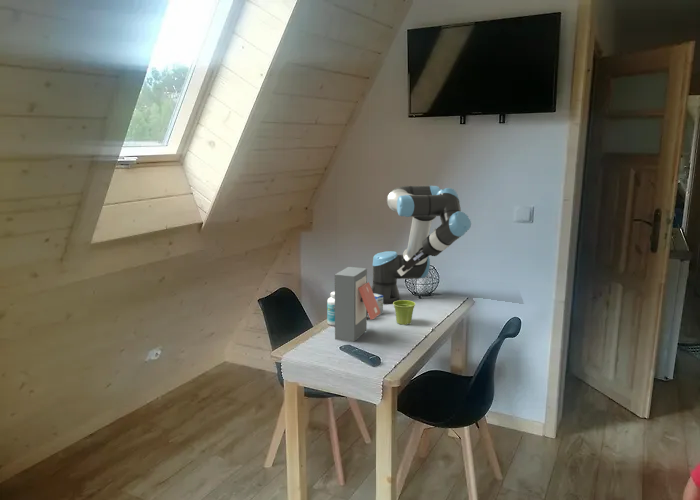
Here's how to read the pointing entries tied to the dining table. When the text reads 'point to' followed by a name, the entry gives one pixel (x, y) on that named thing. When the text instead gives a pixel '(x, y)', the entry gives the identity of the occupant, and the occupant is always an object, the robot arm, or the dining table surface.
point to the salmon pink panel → (369, 300)
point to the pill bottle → (331, 309)
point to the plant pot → (404, 311)
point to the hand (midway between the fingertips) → (400, 272)
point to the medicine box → (379, 301)
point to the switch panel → (350, 304)
